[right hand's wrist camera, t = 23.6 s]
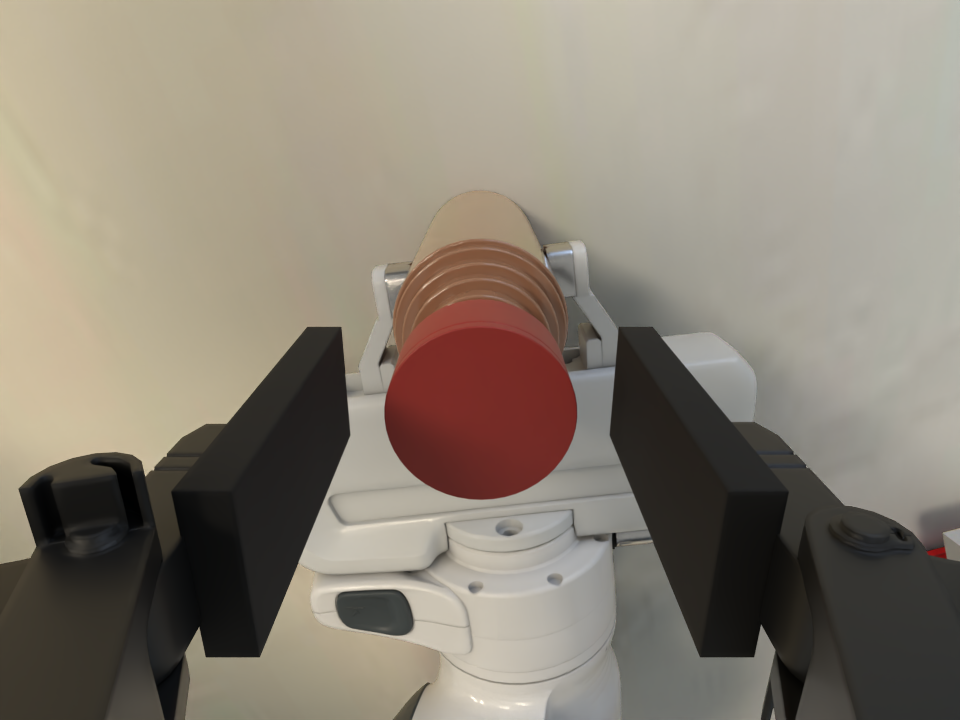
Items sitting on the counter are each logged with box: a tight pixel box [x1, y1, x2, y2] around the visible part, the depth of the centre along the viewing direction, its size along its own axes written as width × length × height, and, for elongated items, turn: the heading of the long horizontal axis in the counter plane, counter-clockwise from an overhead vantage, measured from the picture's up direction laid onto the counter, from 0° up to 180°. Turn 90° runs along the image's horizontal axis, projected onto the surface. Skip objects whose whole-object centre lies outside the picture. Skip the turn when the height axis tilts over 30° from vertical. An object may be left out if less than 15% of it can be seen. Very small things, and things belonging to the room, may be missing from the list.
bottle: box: [393, 191, 568, 355], centre depth 21 cm, size 5×5×18 cm
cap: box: [384, 299, 577, 500], centre depth 13 cm, size 4×4×2 cm
